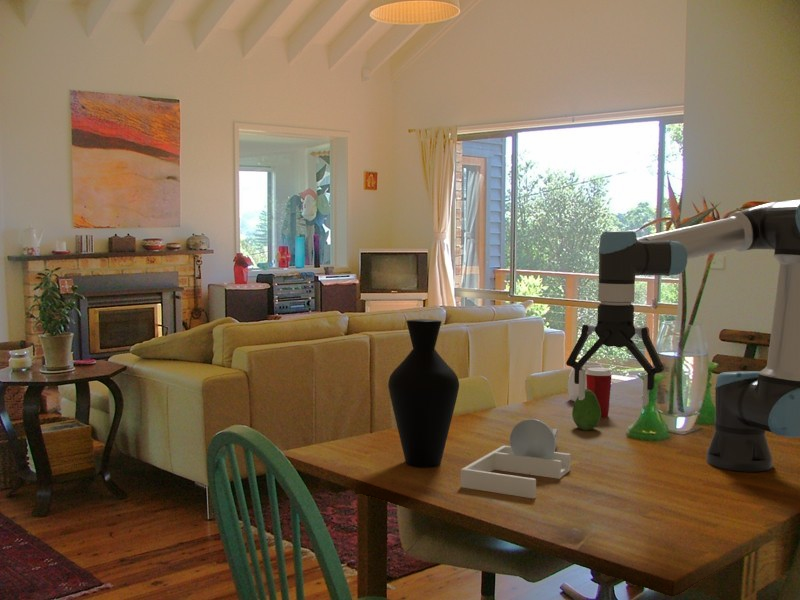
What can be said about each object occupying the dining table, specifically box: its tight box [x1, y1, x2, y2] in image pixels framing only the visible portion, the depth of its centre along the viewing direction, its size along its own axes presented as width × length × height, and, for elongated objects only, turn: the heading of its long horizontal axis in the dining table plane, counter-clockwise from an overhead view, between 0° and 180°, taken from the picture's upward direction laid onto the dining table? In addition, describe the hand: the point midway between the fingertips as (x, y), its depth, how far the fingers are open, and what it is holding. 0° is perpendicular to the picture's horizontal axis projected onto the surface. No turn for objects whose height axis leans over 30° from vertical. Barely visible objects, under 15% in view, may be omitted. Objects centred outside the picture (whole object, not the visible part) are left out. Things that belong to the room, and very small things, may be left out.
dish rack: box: [460, 445, 571, 499], centre depth 194 cm, size 17×25×4 cm
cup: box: [567, 361, 604, 403], centre depth 283 cm, size 13×13×14 cm
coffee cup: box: [585, 367, 613, 419], centre depth 261 cm, size 8×8×15 cm
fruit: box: [571, 389, 602, 431], centre depth 243 cm, size 8×8×12 cm
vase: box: [387, 318, 460, 469], centre depth 205 cm, size 17×17×35 cm
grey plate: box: [509, 418, 557, 459], centre depth 201 cm, size 11×1×11 cm, turn 61°
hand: (613, 402), depth 182 cm, fingers open, 13 cm apart
